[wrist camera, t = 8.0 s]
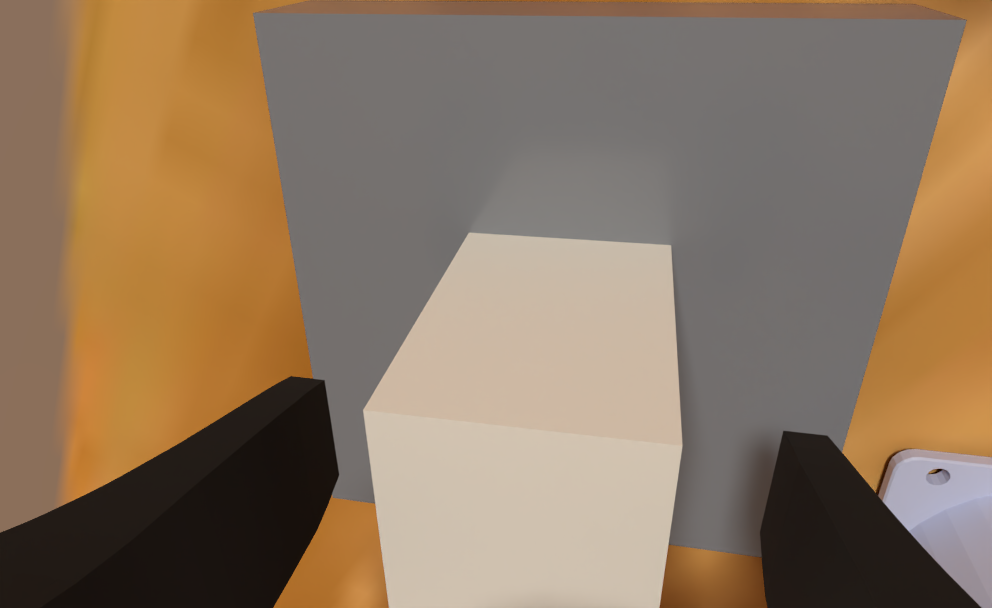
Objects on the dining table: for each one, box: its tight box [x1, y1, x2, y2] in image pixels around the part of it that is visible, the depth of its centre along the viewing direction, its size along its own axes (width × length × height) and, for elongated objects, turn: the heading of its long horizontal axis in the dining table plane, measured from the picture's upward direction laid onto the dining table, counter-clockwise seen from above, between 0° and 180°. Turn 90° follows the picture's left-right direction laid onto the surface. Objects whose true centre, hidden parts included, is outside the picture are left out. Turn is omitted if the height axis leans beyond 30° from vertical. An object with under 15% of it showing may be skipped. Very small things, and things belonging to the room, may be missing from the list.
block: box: [363, 233, 682, 608], centre depth 12 cm, size 4×4×6 cm
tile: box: [253, 0, 967, 557], centre depth 16 cm, size 12×12×2 cm
